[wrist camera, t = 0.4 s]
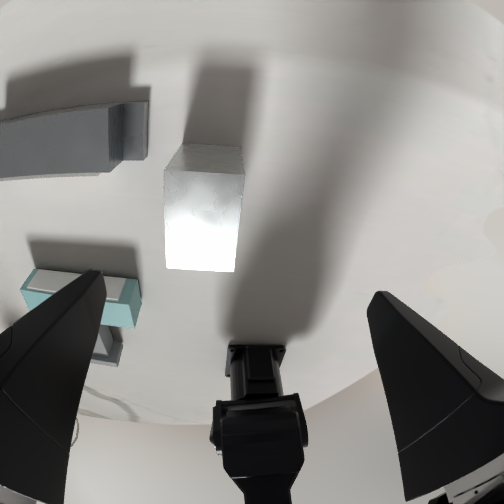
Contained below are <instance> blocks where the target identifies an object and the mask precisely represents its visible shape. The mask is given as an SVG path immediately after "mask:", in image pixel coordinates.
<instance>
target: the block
mask: <svg viewBox="0 0 504 504" xmlns="http://www.w3.org/2000/svg"><path fill="white" fill-rule="evenodd" d="M244 179H245V172H244V166H243V159H242V153H241V147H234V146H221V145H206V144H185V143H182V145H181V146H180V147H179V149H178V150H177V152H176V153H175V155H174V156H173V158H172V159H171V161H170V162H169V164H168V165H167V167H166V168H165V170H164V220H165V245H166V263H167V268H178V269H193V270H209V271H226V272H234V263H235V255H236V246H237V237H238V228H239V220H240V211H241V203H242V195H243V187H244Z"/></svg>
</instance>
